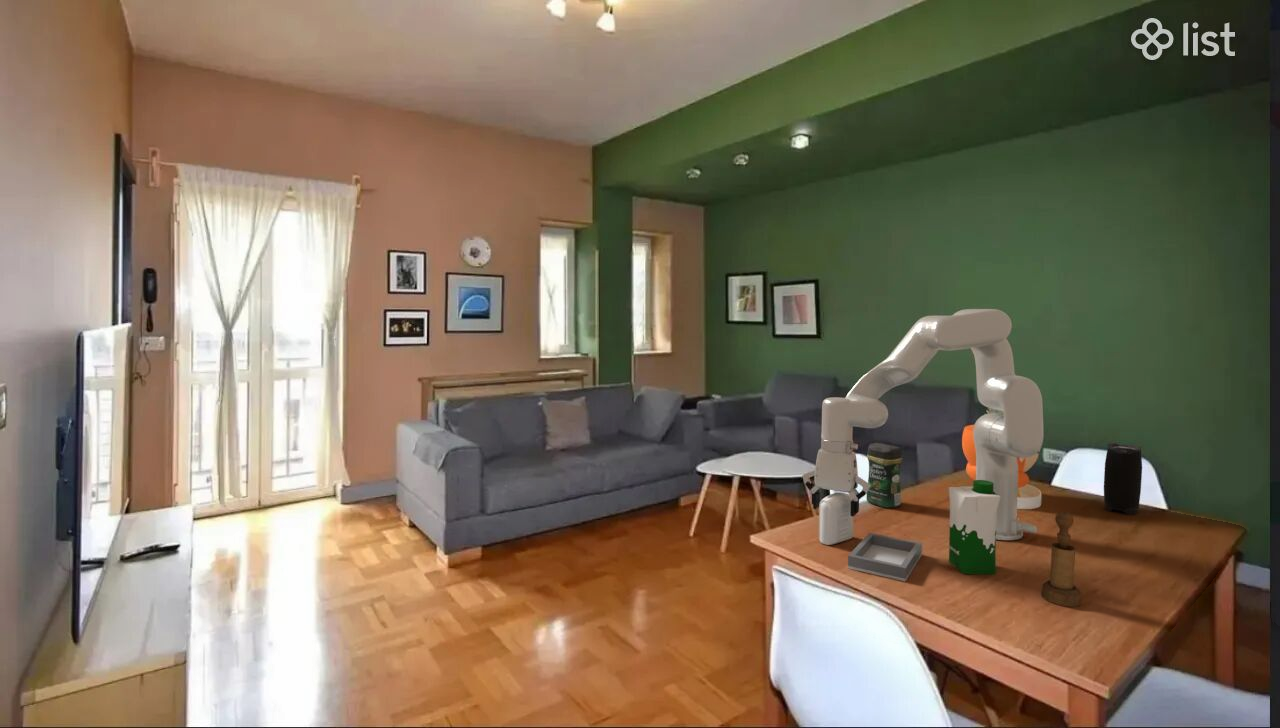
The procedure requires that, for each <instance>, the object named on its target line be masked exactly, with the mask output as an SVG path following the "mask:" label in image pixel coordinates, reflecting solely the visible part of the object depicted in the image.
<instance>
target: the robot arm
mask: <svg viewBox="0 0 1280 728" xmlns="http://www.w3.org/2000/svg"><path fill="white" fill-rule="evenodd" d="M1012 326H1013V325H1012V320H1011V318H1010V316H1009V315H1008V314H1007V313H1006V312H1004V311H1002V310H1000V309H996V308H995V309H994V308H968V309H967V308H966V309H961V310H959V311H955V312H954V313H953V314H952V315H926V316H923V317H921V318H919V319H918V320H917V321H916V322H915V323H914V324H913V325H912V327H911V328H910V329H909V330H908V331H907V333H906V334H905V335H904V336H903V338H902V339H901V340H900V341H899V343H898V344H897V345H896V347H895V348H894V349H893V350H892V351H891V353H890V354H889V355H888V356H887V358H885V359H884V360H883V361H882V362H879V364H877V365H876V366H874V367H873V368H872V369H871V370H869V371H868V372H866V374H864V375H863V376H862V377H861V378H860V379H859V380H858V381H857V382H856V383H855V385H853V387H852V388H851V389H850V390H849V392H848V393H847V395H846V396H845V397H839V396H838V397H833V396H832V397H827V398H825V399H823V401H822V405H821V440H820V441H821V443H820V448H819V449H818V451H817V455H816V460H815V461H816V462H815V468H814V470H812V471H809V472H806V473H804V474H802V476H801V477H802V479H803V482H804V483H805V487H806V488H807V489H808V490H809V492H810V494H811V505H812V510H813V509H814V510H817V509H819V504H820V502H821V492H820V491H819V490H820V489H823V490H829V491H836V492H842V493H846V494H849V495H850V496H851V497H852V499H853V500H852V501H851V516H853V518H854V517H855V516H856V515H857V514H858V513H859V511H860V499H862V498H863V497H865V496H867V492H868V490H869V489H870V487H871V485H870V484H869V483H868V481H866V480H864V479H863V478H861V477H860V476H859V474H858V472H859V471H858V461H857V454H856V452H855V451H853V450H858V447H859V444H857V443H854V440H853V431H854V430H853V427H858V428H864V429H877V428H879V427H882V426H883V425H884V424H885V423H886V422H887V420H888V417H889V410H888V408H887V406H886V405H885V404H884V403H883V402H882V401H880V400H879V399H880V398H881V397H882V396H883V395H884V394H885V393H886V392H888V391H890V390H891V389H893V388H895V387H898V386H900V385H903V384H906V383H907V384H908V383H909V382H911V381H914V380H915V379H916V378H918V377H919V375H920V374H921V372H923V370H924V368H926V366H927V365H928V364H929V362H931V360H932V359H933V357H935V355H936V354H937V353H938V352H939V350H940V351H959V350H966V349H970V350H971V352H972V354H973V356H974V357H973V358H974V361H975V374H976V393H977V399H978V401H979V403H980V404H981V405H982V406H984V407H986V408H987V409H988V408H989V409H990V408H991V409H995V410H999V411H1003V414H1004V415H1003V414H998V413H989V414H988V413H984V415H981V416H980V417H979V418H978V419H977V420H976V422H975V423H974V424H973V425H974V429H973V437H974V443H975V449H976V480H986V481H990V482H993V491H994V492H995V493H996V494H998V495H999V496H1000V501H999V505H998V509H997V522H996V541H997V540H998V541H1015V540H1020V539H1022V538H1023V536H1024V532H1027V533H1029V534H1037V533H1038V532H1037V531H1038V529H1037V528H1038V525H1033V523H1031V522H1022V520H1019V518H1020V517H1019V515H1017V514H1018V513H1017V510H1018V509H1017V490H1018V463H1017V458H1030V457H1032V456H1034V455H1036V454H1037V453H1038V452H1039V450H1040V451H1041V449H1042V446H1043V442H1044V432H1045V431H1044V411H1043V409H1044V408H1043V407H1044V406H1043V397H1042V393H1041V391H1040V390H1041V389H1040V388H1039V387H1038V384H1037V383H1036V382H1034V381H1033V380H1032V379H1030V377H1029V378H1028V377H1025V376H1021V375H1016V373H1015V364H1014V355H1013V350H1012V346H1011V345H1010V342H1009V341H1008V339H1007V338H1008V337H1009V335H1010V334H1011V332H1012ZM1016 457H1017V458H1016ZM811 477H814V479H813V481H814V483H813V482H812V481H811ZM858 486H861V487H862V489H861V491H860V492H859V491H858V489H857V488H858Z"/></svg>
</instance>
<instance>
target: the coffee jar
mask: <svg viewBox="0 0 1280 728" xmlns="http://www.w3.org/2000/svg"><path fill="white" fill-rule="evenodd" d="M902 453H903V452H902V449H901V447H899V446H896V445H891V444H887V443H883V442H882V443H880V442H873V443H870V444H869V445H868V448H867V454H866V456H867V461H868V477H867V478H868V479H867V483H869V484H870V485H871V487H870V489H869V490H868V492H867V494H866V501H867V502H868V503H870V504H872V505H875V506H878V507H881V508H886V509H887V508H892V509H893V508H897V507H899V506H901V504H902V492H901V475H900V473H901V464H902V462H903V454H902Z"/></svg>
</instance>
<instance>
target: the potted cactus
mask: <svg viewBox="0 0 1280 728" xmlns="http://www.w3.org/2000/svg"><path fill="white" fill-rule="evenodd" d="M989 413H998V414H1003V411H999V410H995V409H991V408H988V407H987V414H989ZM1003 415H1004V414H1003ZM974 425H975V424H970V425H966V426H964V428H963V431H962V436H961V437H962V439H961V444H962V445H961V446H962V450H963V451H962V452H963V455H964V456H965V458H966V460H967V463H966V468H965V471H966V474H967V475H968V477H969V478H971V480H972V481H974V480H976V449H975V443H974V437H973V429H974ZM1040 454H1041V449H1040V450H1039V452H1038V453H1037V454H1036V455H1034V456H1032V457H1030V458H1017V457H1016V458H1017V463H1018V490H1017V510H1032V509H1033V510H1035V509H1037V508H1038V509H1039V508H1040V507H1041V505H1042V494H1043V493H1042V491H1041V490H1040V488H1037V487H1036V486H1034V485H1031V484H1029V482H1030V477H1029V475H1028V474H1027V473H1026V472H1027V471H1029V470H1030V469H1031V468H1032V467H1033V466H1034V465H1035V463H1036V462H1037V460H1038V458H1039V456H1040Z"/></svg>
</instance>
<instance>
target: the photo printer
mask: <svg viewBox="0 0 1280 728" xmlns="http://www.w3.org/2000/svg"><path fill="white" fill-rule="evenodd" d="M852 500H853V499H852V497H851V496H850V495H849V493H847V492H840V491H837V492H834V493H830V494H829V495H827V496H825V497H824V498H822V499H820V504H819V507H818V541H820V543H821V544H823V545H826V546H831V545H835V544H838V543H842V542H844V541H848V540H850V539H853V538H854V517H853V516H851V501H852Z"/></svg>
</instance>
